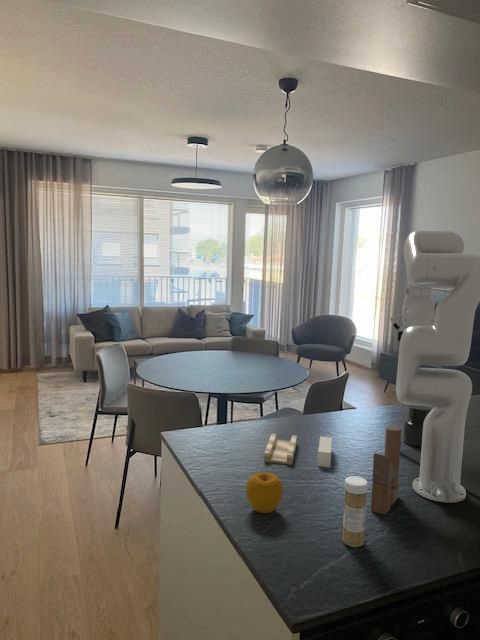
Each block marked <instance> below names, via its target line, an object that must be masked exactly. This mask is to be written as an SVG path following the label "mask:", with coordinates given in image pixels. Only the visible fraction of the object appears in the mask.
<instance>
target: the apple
mask: <svg viewBox="0 0 480 640" xmlns="http://www.w3.org/2000/svg"><path fill="white" fill-rule="evenodd" d="M245 494H246V498H247V500H248V503H249V505H250V507H251V508H252V509H253V511H255V512H257V513H261V514H271V513H272V512H274V511H275V510H276V509H277V508H278V506H279V505H280V504H281V501H282V498H283V496H284V495H283V494H284V486H283V483H282V481H281V479H280V478H279V477H278V476H277V475H276V474H274V473H271V472H265V471H264V472H263V471H261V472H257V473H254V474H252V475H251V476H250V477H249V479H248V480H247V482H246V485H245Z"/></svg>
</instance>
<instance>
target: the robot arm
mask: <svg viewBox="0 0 480 640" xmlns="http://www.w3.org/2000/svg"><path fill="white" fill-rule="evenodd" d="M464 250H465V241H464V239H463V237H461V235H460V234H459V233H456V232H454V231H448V230H416V231H412V232H411V233H409V235H408V236H407V237H406V239H405V241H404V245H403V257H404V258H403V259H404V265H405V269H406V270H405V271H406V275H407V287H406V288H402V293H403V294H406V296H404V300H403V304H402V309H401V313H399V314H396V315H394V316H392V317H390V318H389V320H390V322H391V324H392V326H393V327H394V328H395V329H396V330H397V342H399V349H398V358H397V359H398V360H397V371H396V382H395V395H396V399H397V400H398V401H399V402H400V403H401V404H404V405H407V406H409V405H413V406H427V407H431V411H430V412H429V414H428V415H427V416H426V418H425V420H424V423H423V435H422V447H421V448H420V449H421V451H420V452H421V453H420V465H419V477H416V478H415V479H413V481H412V490H414V492H415V493H416V494H418V495H419V496H421V497H423V498H425V499H428V500H431V501H434V502H438V503H446V504H447V503H448V504H453V503H459V502H461V501H464V500H465V499H466V497H467V492H466V489H465V487H464V486H462V485H461V475H462V463H463V449H464V437H465V427H466V418H467V412H468V408H469V404H470V402H471V401H470V400H471V396H472V393H473V383H472V379H471V378H470V376H468V375H467V374H466V373H465V372H463V371H462V370H457V369H452V368H435V367H431V368H429V367H421V366H422V365H423V366H425V365H426V366H443V367H444V366H446V367H458V366H462V365H464V364H465V363H466V362H467V361H468V359H469V356H470V351H471V345H472V338H473V329H474V321H475V315H476V311H477V307H478V305H479V303H480V255H476V254H471V253H464ZM433 289H452V290H450V291H449V292H448V293H446V295H444V297H442V299H441V300H440V301H439V302H438V304H436V308H435V298H434V297H432V290H433ZM399 319H400V322H401V323H400V324H399V325H398V324H397V322H396V321H397V320H399Z"/></svg>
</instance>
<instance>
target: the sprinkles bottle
mask: <svg viewBox="0 0 480 640" xmlns="http://www.w3.org/2000/svg"><path fill="white" fill-rule="evenodd" d="M368 487H369V485H368V481H367V480H366V478H363V477H361V476H357V475H356V476H355V475H352V476H348V477H346V478H345V479H344V493H345V494H344V504H343V505H344V507H343V509H344V510H343V518H342V521H343V523H342V526H343V528H342V530H343V531H342V537H341V538H342V539H341V540H342V542H343V544H345V545H347V546H349V547H352V548H360V547H362V546H363V545H364V544H365V529H366V514H367V513H366V512H367V493H368Z"/></svg>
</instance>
